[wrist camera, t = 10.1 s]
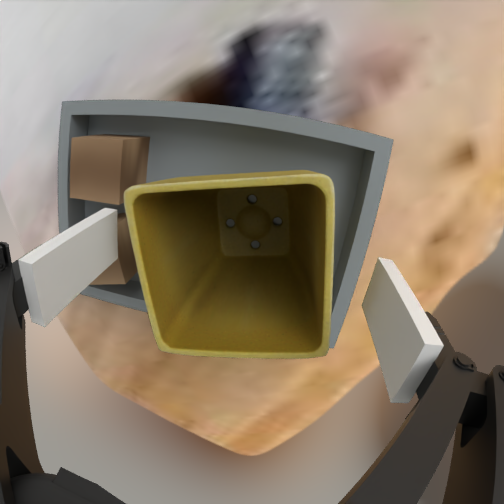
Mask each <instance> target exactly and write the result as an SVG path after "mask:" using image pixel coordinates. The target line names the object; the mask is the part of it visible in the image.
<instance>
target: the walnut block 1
mask: <svg viewBox="0 0 504 504" xmlns="http://www.w3.org/2000/svg"><path fill="white" fill-rule="evenodd" d="M149 143H150V137H145V136H130V135H112V134H99V135H90V136H81V137H73V138H72V140H71V159H70V198H76V199H83V200H90V201H96V202H103V203H109V204H116V205H120V204H122V203H124V191H125V190H126V189H128V188H129V187H131V186H135V185H139V184H145V183H146V177H147V164H148V153H149Z"/></svg>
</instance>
